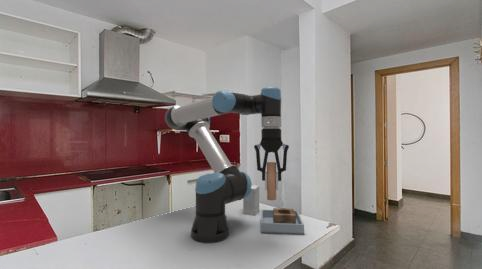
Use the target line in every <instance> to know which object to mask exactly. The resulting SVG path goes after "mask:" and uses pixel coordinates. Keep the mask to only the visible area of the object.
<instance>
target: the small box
mask: <svg viewBox="0 0 482 269" xmlns="http://www.w3.org/2000/svg"><path fill="white" fill-rule="evenodd" d="M242 202H243V204H242V206H243V207H242V209H243V210H242V211H243V212H242V213H243V214H244V215H251V216H256V215H257V213H258V212H259V211H260V185H258V184H257V185H255V184H252V186H251V191H250V193H249V195H248V196H247V197H245V198H243V199H242Z"/></svg>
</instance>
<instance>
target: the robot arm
mask: <svg viewBox="0 0 482 269" xmlns="http://www.w3.org/2000/svg"><path fill="white" fill-rule="evenodd" d="M281 92H282V91H281V89H280V88H279V87H277V86H267V87H266V86H265V87H263V88H261V90H260V94H256V95H248V94H243V93H239V92H238V93H237V92H233V91H229V90H217V91H216V92H215V94H213V96H211V97H208V98H205V99H201V100H199V101H195V102H192V103H189V104H185V105H180V104H179V105H174V106H171V107H170V108H169V109H167V110H166V112H165V114H164V121H165V123H166V125H167V126H168V127H169V128H170V129H172V130H174V131H186V132H187V135H189V137H190V138H193V139H194V140H195V142H196V144H197V145H198V147H199V149H200V151H201V152H202V154H203V155H204V157H205V159H206V161H207V163H208V164H209V166H210V168H211V169H212V170H213V173H206V174H203V175H201V176H199V177H197V179H196V181H195V189H194V190H195V191H194V192H195V216H194V220H193V222H192V226H191V231H190V234H191V235H190V237H191V238H192V240H195V241H197V242H199V243H200V242H201V243H217V242H220V241H224V240H226V239H227V238H229V236H230V225H229V223H228V220H227V216H226V205H227V204H230V203H233V202H237V201H241V200H242V201H243V198H245V197H247V196H248V195H249V193H250V191H251V186H252V185H253V184H252V179H251V177H250V176H249V175H248V173H247V172H244V171H240V169H239V168H238V166H237V165H235V164H232V163H231V162H230V160H229V158H228V157H227V155H226V153H225V152H224V150H223V149H222V147H221V145H220V144H219V143H218V141H217V139H216V137H215V136H214V135H213V133H212V131H211V130H210V128H211V118H212V117H216V116H221V115H225V114H230V113H233V114H239V115H240V116H241V115H242V116H244V115H245V116H249V115H258V114H261V115H260V116H261V119H260V121H261V123H260V124H261V140H260V142H259V143H258V144H255V145H254V146H253V147H254V148H253V149H254V150H255V158H256V170H257V171H258V172H261V180H262V182H264V190H265V191H267V162H268V157H269V153H274V157H275V158H274V159H275V162H276V170H277V171H276V191H279V182H281V181H282V173H284V172H285V171H286V170H287V160H288V159H287V156H288V151H289V148H290V145H288V144H285V143H283V140H282V129H281V127H282V96H281V95H282V94H281ZM261 147H262V149H263V151H264V158H263V163H262V165H261V152H260V150H261ZM281 147H282V150H283V153H282V154H283V157H282V158H283V159H282V167H281V163H280V158H279V152H278V151H280V148H281ZM261 166H262V167H261Z"/></svg>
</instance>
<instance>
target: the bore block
mask: <svg viewBox="0 0 482 269" xmlns="http://www.w3.org/2000/svg"><path fill="white" fill-rule="evenodd" d="M272 210H273V222H274V223H287V224H296V214H295V212H294V211H295V209H294V208H283V207H281V208H280V207H279V208H277V207H273V208H272Z"/></svg>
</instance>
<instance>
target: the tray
mask: <svg viewBox="0 0 482 269" xmlns="http://www.w3.org/2000/svg"><path fill="white" fill-rule="evenodd" d="M294 212H295V214H296V224H287V223H274V222H273V209H261V210H260V233H261V234H273V235H274V234H275V235H300V236H304V235H305V224H304V222H303V220H302V218H301V215H300V212H299V210H294Z"/></svg>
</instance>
